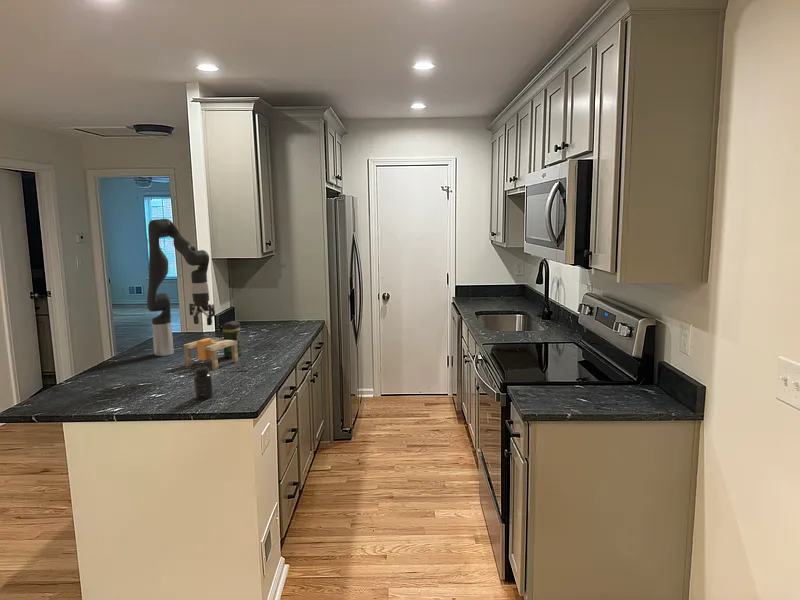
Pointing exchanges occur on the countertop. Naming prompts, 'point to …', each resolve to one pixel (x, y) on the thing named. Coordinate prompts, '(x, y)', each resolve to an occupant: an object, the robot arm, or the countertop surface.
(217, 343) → the cream u-shaped stand
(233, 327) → the coffee jar
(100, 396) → the countertop surface
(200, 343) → the tan wooden post
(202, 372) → the supplement bottle
